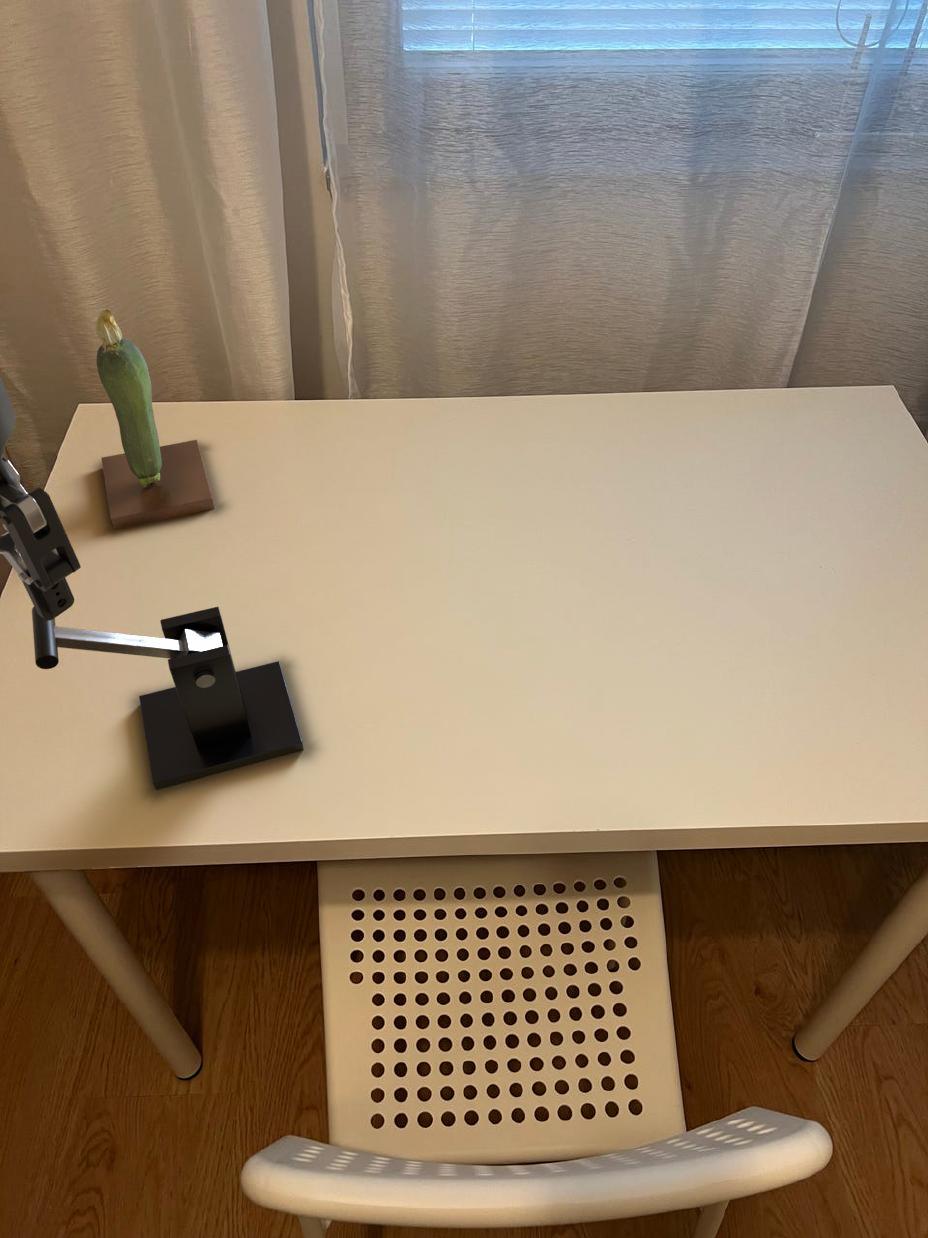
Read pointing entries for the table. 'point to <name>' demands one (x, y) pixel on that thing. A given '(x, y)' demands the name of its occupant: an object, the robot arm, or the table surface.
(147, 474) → the vegetable
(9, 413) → the robot arm
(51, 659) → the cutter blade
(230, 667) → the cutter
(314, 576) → the table surface
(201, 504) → the board
